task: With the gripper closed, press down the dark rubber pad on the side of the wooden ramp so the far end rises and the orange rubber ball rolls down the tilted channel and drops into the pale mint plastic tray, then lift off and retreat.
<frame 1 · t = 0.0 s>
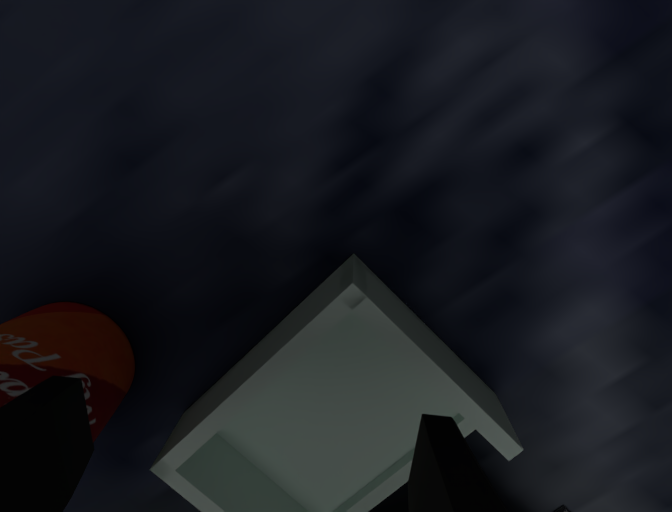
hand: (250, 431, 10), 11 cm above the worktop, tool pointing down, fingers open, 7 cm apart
paper cup: (76, 355, 22), on the worktop
tray: (336, 403, 22), on the worktop
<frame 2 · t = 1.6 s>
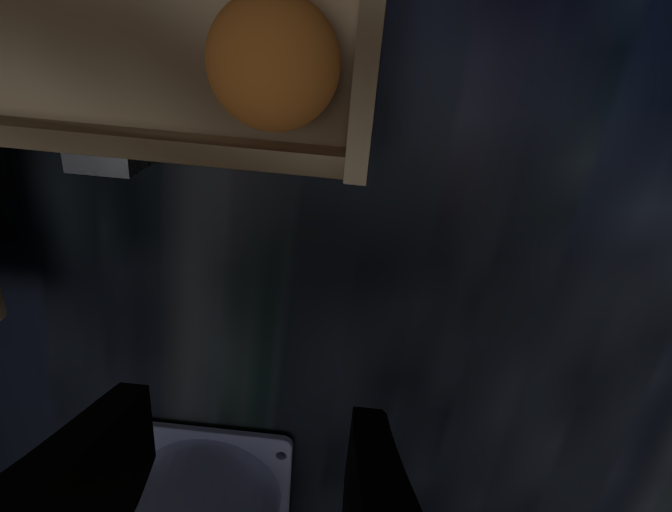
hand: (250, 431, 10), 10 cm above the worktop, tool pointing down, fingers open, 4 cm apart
wooden ramp: (109, 159, 16), point 3 cm above the worktop, hinge at 0.0°, touching ball
stand: (138, 38, 16), on the worktop
ball: (284, 59, 13), point 4 cm above the worktop, touching wooden ramp
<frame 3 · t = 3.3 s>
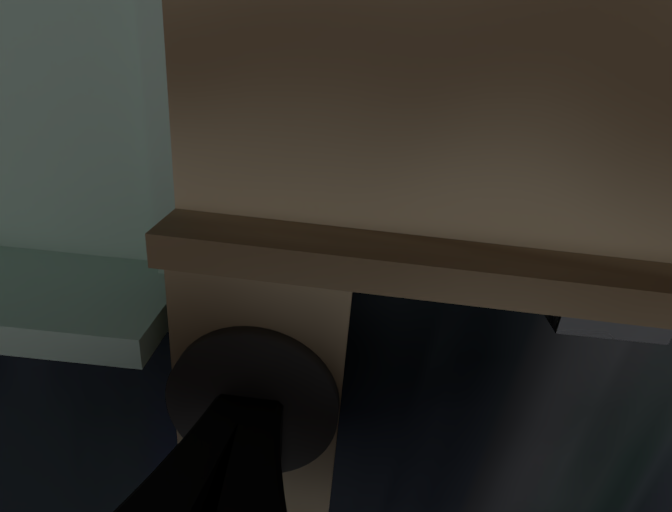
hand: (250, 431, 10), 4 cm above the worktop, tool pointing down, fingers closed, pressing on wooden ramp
wooden ramp: (581, 296, 10), point 3 cm above the worktop, hinge at 2.1°, touching ball, gripper
stand: (587, 97, 11), on the worktop
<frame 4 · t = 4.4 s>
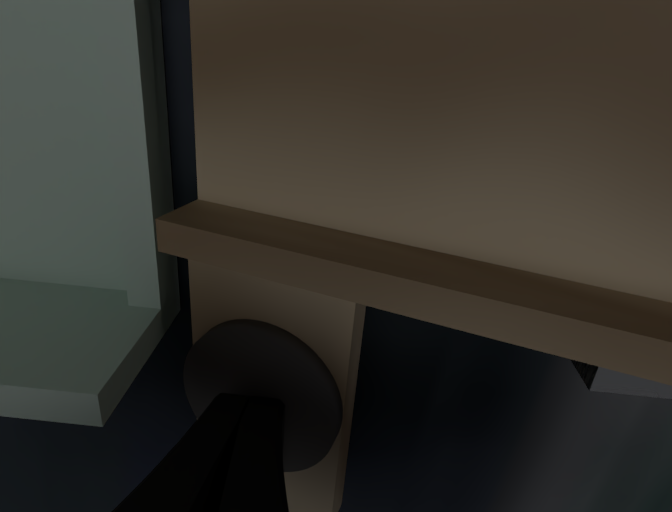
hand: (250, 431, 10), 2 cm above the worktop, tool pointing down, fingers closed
wooden ramp: (624, 340, 8), point 3 cm above the worktop, hinge at 17.3°, touching gripper
stand: (619, 107, 9), on the worktop
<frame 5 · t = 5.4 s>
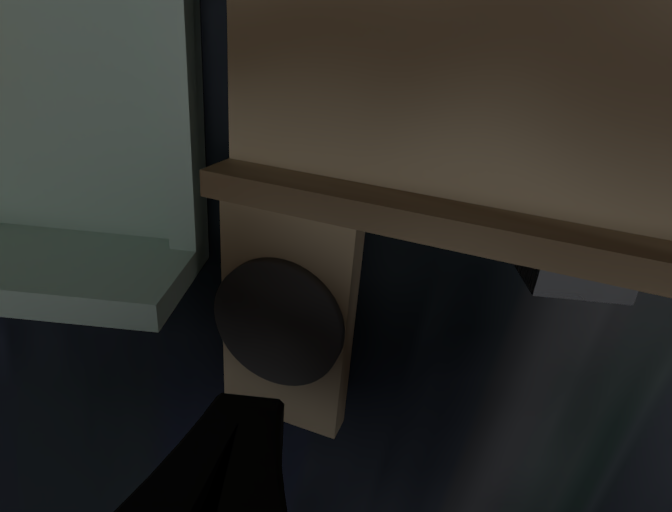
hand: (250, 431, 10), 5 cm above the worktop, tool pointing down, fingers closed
wooden ramp: (565, 265, 11), point 3 cm above the worktop, hinge at 17.3°
stand: (565, 84, 12), on the worktop
tray: (16, 35, 12), on the worktop
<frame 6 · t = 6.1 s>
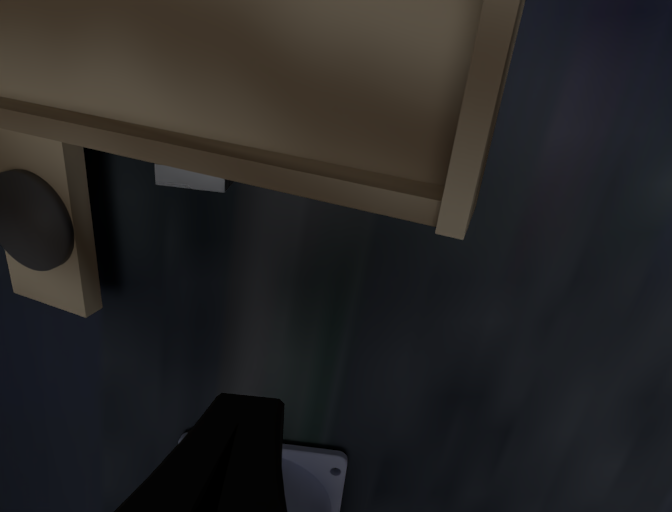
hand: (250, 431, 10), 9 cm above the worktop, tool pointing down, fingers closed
wooden ramp: (203, 170, 15), point 3 cm above the worktop, hinge at 17.3°
stand: (225, 44, 16), on the worktop
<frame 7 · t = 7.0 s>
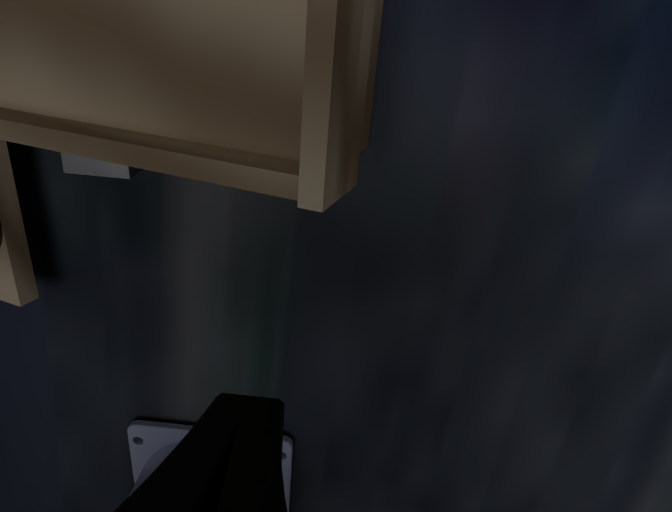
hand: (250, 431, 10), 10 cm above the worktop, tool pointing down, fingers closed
wooden ramp: (115, 159, 16), point 3 cm above the worktop, hinge at 17.3°
stand: (139, 38, 16), on the worktop
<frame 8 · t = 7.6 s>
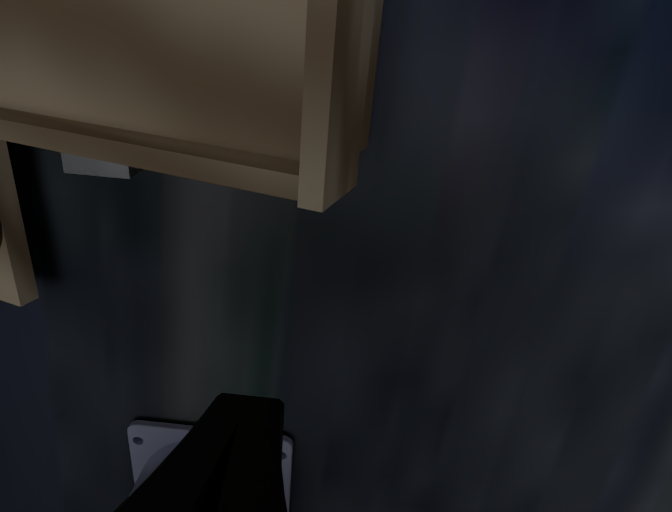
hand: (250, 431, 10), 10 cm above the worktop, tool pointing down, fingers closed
wooden ramp: (115, 159, 16), point 3 cm above the worktop, hinge at 17.3°
stand: (139, 38, 16), on the worktop
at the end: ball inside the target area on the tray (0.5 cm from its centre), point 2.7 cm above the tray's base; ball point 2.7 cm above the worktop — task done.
